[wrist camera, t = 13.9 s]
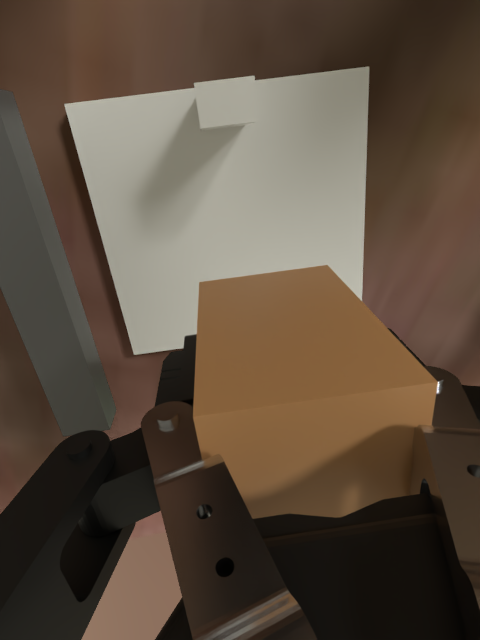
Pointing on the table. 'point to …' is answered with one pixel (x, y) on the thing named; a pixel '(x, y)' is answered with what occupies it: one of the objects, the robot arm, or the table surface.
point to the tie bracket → (224, 188)
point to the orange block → (305, 394)
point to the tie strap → (45, 289)
